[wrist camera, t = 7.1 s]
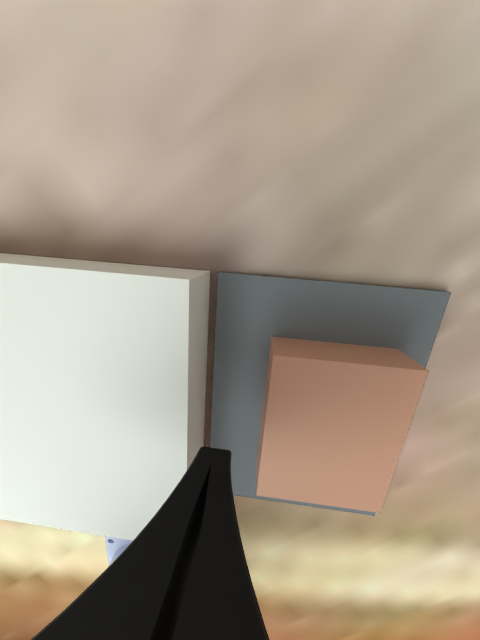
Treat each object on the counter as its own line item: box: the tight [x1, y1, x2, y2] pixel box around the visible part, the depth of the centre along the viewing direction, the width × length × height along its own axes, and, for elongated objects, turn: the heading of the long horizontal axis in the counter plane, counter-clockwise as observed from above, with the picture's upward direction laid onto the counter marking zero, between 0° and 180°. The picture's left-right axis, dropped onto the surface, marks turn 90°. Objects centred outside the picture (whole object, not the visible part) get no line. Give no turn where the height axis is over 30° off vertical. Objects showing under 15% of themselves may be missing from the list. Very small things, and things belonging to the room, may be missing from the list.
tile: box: [256, 337, 428, 513], centre depth 13 cm, size 9×7×2 cm
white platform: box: [0, 253, 210, 541], centre depth 14 cm, size 16×14×4 cm
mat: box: [210, 272, 451, 516], centre depth 15 cm, size 16×12×1 cm
